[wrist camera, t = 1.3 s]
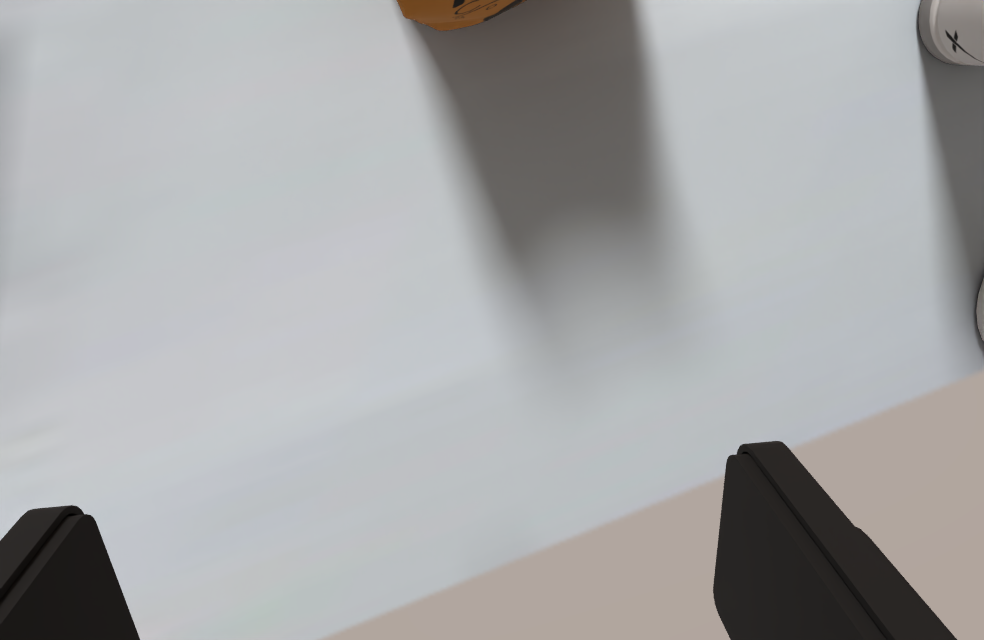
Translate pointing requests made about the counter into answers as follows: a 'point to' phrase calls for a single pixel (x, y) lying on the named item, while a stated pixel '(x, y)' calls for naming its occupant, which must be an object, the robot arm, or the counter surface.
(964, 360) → the counter surface
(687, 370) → the counter surface
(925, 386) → the counter surface
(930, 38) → the travel mug
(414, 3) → the coffee package
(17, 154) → the counter surface
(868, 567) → the robot arm
